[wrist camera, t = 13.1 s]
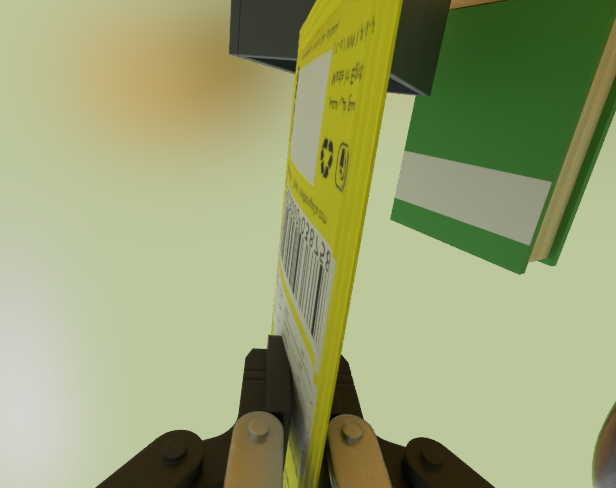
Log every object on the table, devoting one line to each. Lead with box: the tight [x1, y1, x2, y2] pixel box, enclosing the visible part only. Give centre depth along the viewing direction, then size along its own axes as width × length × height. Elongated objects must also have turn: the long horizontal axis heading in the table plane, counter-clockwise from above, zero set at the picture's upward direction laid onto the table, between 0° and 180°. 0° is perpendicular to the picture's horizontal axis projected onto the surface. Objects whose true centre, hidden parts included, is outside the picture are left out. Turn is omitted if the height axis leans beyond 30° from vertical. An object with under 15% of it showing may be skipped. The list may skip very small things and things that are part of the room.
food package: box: [271, 0, 403, 488], centre depth 14 cm, size 15×1×20 cm, turn 173°
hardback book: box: [391, 0, 616, 275], centre depth 40 cm, size 18×7×24 cm, turn 147°
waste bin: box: [229, 0, 451, 97], centre depth 28 cm, size 10×20×9 cm, turn 25°
